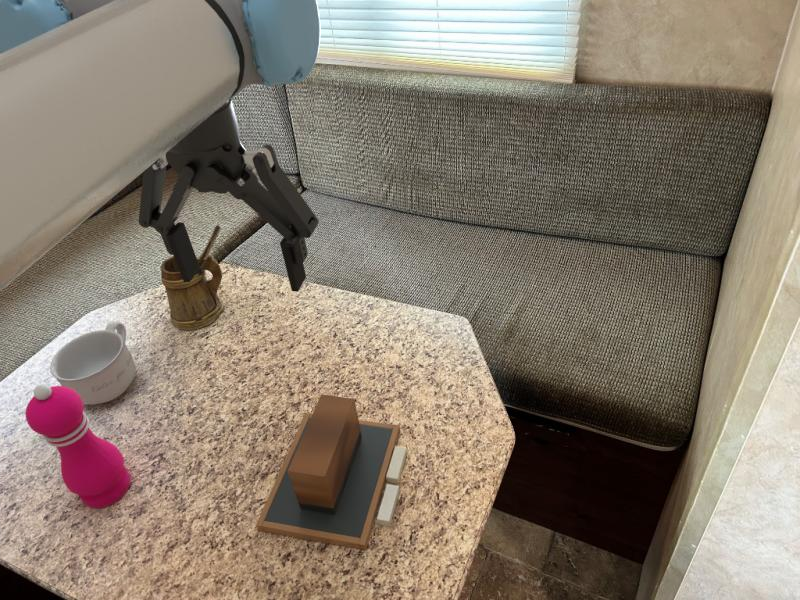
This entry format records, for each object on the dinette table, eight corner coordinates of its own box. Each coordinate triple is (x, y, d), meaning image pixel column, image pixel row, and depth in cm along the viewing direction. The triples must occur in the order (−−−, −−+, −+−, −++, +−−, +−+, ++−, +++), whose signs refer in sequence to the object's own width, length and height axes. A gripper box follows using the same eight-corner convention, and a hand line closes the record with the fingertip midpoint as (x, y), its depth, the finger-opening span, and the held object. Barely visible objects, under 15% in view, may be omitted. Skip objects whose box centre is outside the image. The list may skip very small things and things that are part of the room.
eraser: (334, 515, 74) (324, 476, 69) (300, 509, 75) (287, 470, 70) (362, 437, 83) (354, 398, 78) (330, 432, 84) (321, 394, 79)
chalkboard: (366, 550, 72) (364, 545, 71) (257, 530, 75) (255, 525, 74) (400, 430, 85) (399, 424, 84) (307, 417, 88) (305, 412, 88)
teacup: (110, 421, 91) (89, 385, 86) (55, 406, 94) (31, 370, 89) (167, 358, 101) (151, 322, 96) (116, 346, 104) (97, 310, 99)
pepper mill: (110, 518, 78) (39, 417, 65) (66, 504, 80) (-10, 404, 67) (145, 472, 83) (86, 370, 71) (103, 460, 85) (38, 359, 73)
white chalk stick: (386, 482, 79) (398, 484, 78) (385, 476, 78) (397, 478, 78) (395, 451, 82) (407, 452, 82) (395, 445, 82) (406, 447, 81)
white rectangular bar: (377, 524, 74) (390, 526, 74) (376, 519, 74) (389, 521, 73) (387, 489, 78) (399, 491, 78) (386, 483, 77) (399, 485, 77)
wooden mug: (241, 327, 105) (213, 241, 94) (165, 332, 106) (128, 247, 95) (251, 295, 112) (226, 211, 101) (179, 299, 113) (146, 216, 101)
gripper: (327, 86, 57) (355, 268, 70) (99, 85, 63) (166, 253, 76) (299, 119, 51) (336, 309, 65) (52, 114, 57) (133, 291, 70)
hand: (244, 279), depth 70 cm, fingers open, 13 cm apart
